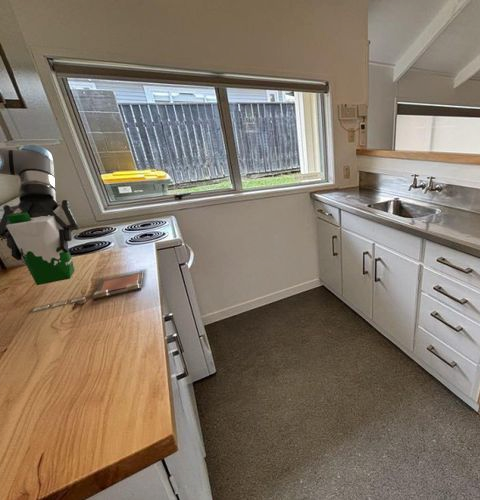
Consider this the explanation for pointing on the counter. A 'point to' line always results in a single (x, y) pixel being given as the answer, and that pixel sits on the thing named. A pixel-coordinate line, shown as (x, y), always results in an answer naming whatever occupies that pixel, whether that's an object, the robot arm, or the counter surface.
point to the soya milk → (40, 247)
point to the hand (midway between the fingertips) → (41, 253)
